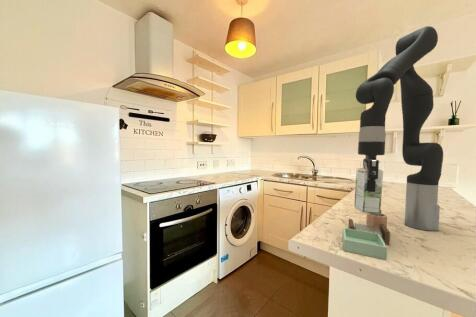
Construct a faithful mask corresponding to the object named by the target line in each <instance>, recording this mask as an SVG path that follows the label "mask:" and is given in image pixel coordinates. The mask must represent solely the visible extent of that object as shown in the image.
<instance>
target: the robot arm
mask: <svg viewBox="0 0 476 317" xmlns="http://www.w3.org/2000/svg"><path fill="white" fill-rule="evenodd" d="M438 39H439V36H438V32H437V30H436V28H435V27H433V26H430V25H427V26H424V27H421V28H418V29H416V30H414V31H413V32H410V33H408V34H406V35H404V36H402V37H400V38H398V40H397V41H396V43H395V56H394V57H392V58H391V59H390V60H388V61H387V62H386V63H385V64H383V66H382V67H380V68H379V70H377V72H376V73H375V74H373V75H372V76H370V77H369V78H368V79H366V80H364V81H363V82H362V83H361V84H360V85H359V86H358V87H357V89H356V91H355V100H356V101H357V102H358V103H359V104H362V105H369V104H372V105H371V107H369V108H368V109H365V110H364V111H362V112H361V114H360V120H359V121H360V122H359V132H358V144H357V145H358V146H357V154H358V155H361V156H365V158H363V160H362V168H365V170H367V171H366V173H367V191H368V192H375V185H376V181H375V180H377V179H378V169H379V168H380V167H379V163H380V160H379V159H377V156H384V155H385V151H386V135H387V134H386V115H387V112H388V109H389V107H390V104H391V101H392V100H393V99H392V98H393V95H394V93H395V92H394V91H395V85H396V84H397V82H398V81H399V82H400V101H401V102H400V103H401V113H402V126H403V127H402V130H403V131H402V147H401V148H402V158H403V161H404V163H405V164H407V165H408V166H416V167H417V166H418V167H421V169H420V171H418V172H416V173H412V174H408V175H407V176H406V186H405V187H406V188H405V206H404V207H405V208H404V225H406V226H408V227H410V228H414V229H417V230H423V231H438V232H439V228H440V210H441V206H440V205H439V204H438V201H439V200H438V198H439V196H438V195H439V182H440V178H441V176H442V170H443V169H442V167H443V161H444V150H443V147H442V145H441V144H439V143H438V142H421V141H420V136H421V135H420V134H421V130H422V128H423V126H424V124H425V122H426V121H427V120H428V118H429V116H431V113H432V111H433V109H434V90H433V87H431V85H430V84H429V83H428V82H427V81H426V80H425V79H424V78H422V77H421V76H420V75H419V74H418V73H417V72H416V70H415V66H414V65H415V64H416V63H417V62H418V61H420V60H422V59H423V58H424V57H425V56H427V54H429V53H431V52H432V51H433V50H434V49H435V48H436V46H437V44H438ZM370 174H374V175H370Z"/></svg>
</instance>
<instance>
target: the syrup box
mask: <svg viewBox="0 0 476 317" xmlns="http://www.w3.org/2000/svg"><path fill="white" fill-rule="evenodd" d="M366 171H367V170H365V168H363V167H362V168H361V167H359V168H358V167H357V168H356V173H355V175H356V176H355V189H354V190H355V191H354V205H353V206H354V209H356V210H358V211H359V212H361V213H364V214H365V213H366V214H367V213H380V210H382V208H381V207H382V195H383V194H382V193H383V179H384V178H383V177H384V171H383V169H379V168H378V179H377V180H375V181H376V185H375V192H368V191H367V173H366ZM370 175H374V174H370Z"/></svg>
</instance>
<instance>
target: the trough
mask: <svg viewBox="0 0 476 317" xmlns="http://www.w3.org/2000/svg"><path fill="white" fill-rule="evenodd" d="M342 245H343V252H346V253H347V252H348V253H354V254H358V255H362V256H367V257H371V258H377V259H382V260H387V256H388V254H387V253H388V247H387V245H385V243H384V241H383V239H382V238H381V236H380V234H379V233H373V232H367V231H361V230H355V229H348V228H347V227H342Z"/></svg>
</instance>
